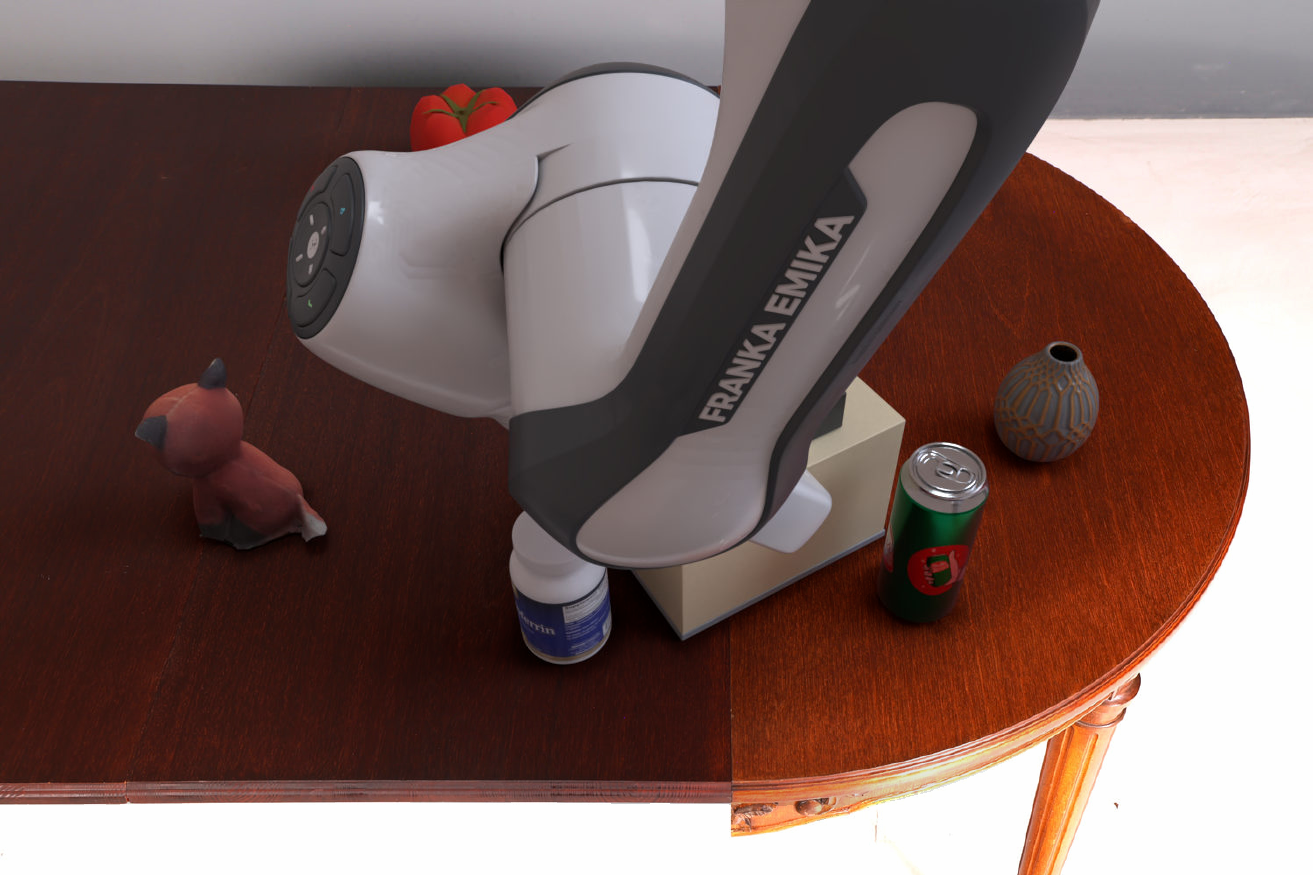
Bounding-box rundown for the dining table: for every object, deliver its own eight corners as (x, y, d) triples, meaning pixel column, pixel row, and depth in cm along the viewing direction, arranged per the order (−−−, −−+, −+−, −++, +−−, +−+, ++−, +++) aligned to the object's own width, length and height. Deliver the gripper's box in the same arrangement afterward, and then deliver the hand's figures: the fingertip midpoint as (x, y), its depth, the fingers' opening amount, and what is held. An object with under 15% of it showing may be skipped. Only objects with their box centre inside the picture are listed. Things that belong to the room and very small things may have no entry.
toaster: (884, 535, 71) (908, 419, 63) (682, 641, 65) (680, 528, 58) (788, 436, 78) (799, 320, 70) (597, 524, 72) (585, 409, 64)
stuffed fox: (308, 584, 69) (254, 460, 61) (165, 546, 72) (94, 422, 63) (364, 502, 74) (321, 376, 66) (228, 469, 77) (170, 344, 68)
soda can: (892, 553, 70) (921, 425, 61) (966, 583, 68) (1005, 456, 60) (863, 607, 67) (888, 481, 58) (938, 640, 65) (976, 515, 57)
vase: (1103, 453, 76) (1140, 363, 70) (1032, 490, 74) (1064, 400, 67) (1034, 398, 80) (1063, 308, 74) (965, 431, 78) (989, 341, 72)
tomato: (540, 153, 107) (531, 69, 101) (512, 219, 99) (500, 132, 93) (440, 147, 109) (425, 64, 102) (404, 212, 100) (385, 126, 94)
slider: (842, 426, 63) (847, 392, 61) (810, 441, 62) (814, 407, 60) (822, 407, 64) (826, 373, 62) (790, 421, 63) (793, 387, 61)
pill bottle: (504, 625, 67) (482, 525, 60) (576, 577, 69) (563, 476, 62) (557, 684, 64) (541, 586, 56) (631, 633, 66) (623, 532, 59)
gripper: (763, 448, 43) (912, 508, 53) (544, 213, 56) (698, 298, 66) (672, 560, 45) (833, 597, 55) (478, 307, 57) (640, 376, 67)
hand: (758, 433), depth 60 cm, fingers closed
